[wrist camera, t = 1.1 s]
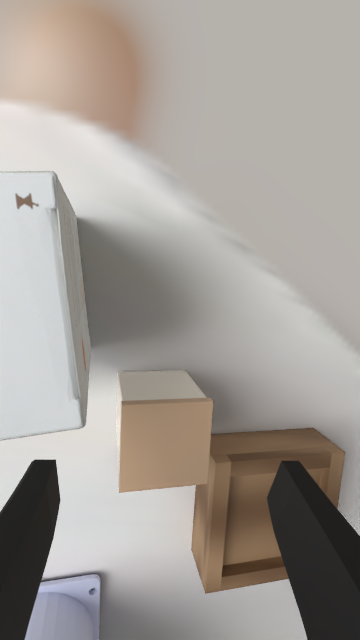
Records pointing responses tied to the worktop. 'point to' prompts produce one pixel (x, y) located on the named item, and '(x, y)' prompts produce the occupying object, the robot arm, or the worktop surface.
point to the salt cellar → (161, 430)
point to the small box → (41, 309)
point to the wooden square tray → (252, 502)
